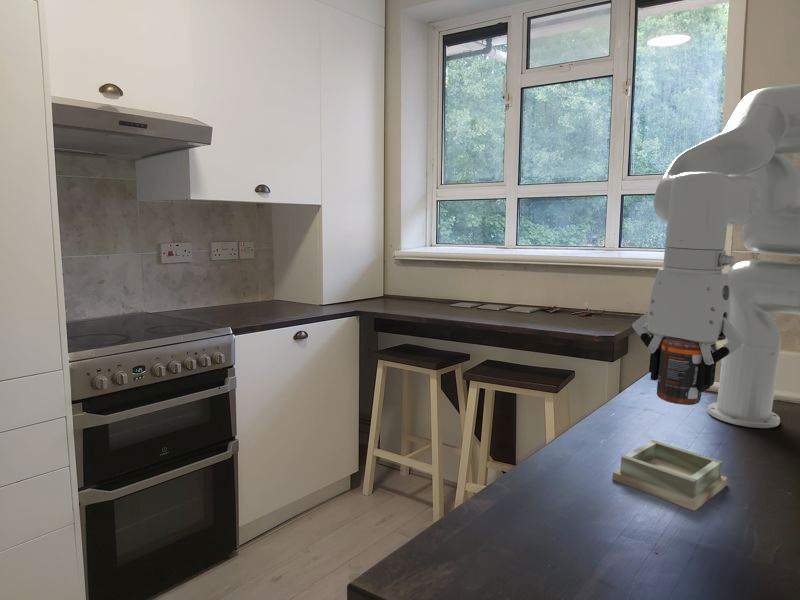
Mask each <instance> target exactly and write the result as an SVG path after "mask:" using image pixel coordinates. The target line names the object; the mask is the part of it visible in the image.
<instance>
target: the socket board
mask: <svg viewBox="0 0 800 600" xmlns="http://www.w3.org/2000/svg"><path fill="white" fill-rule="evenodd" d="M722 469H723V461H722V460H719V459H716V458H712V457H710V456H709V457H708V456H706V455H703V454H700V453H696V452H693V451H689V450H687V449H684V448H680V447H678V446H675V445H671V444H667V443H664V442H661V441H657V440H654V439H652V440H651V441H649V442H646V443H644V444H643V445H641V446H638V448H636V449H634V450H632V451H630V452H628V453H626V454H624V455H622V456H621V459H620V468H618V469H616V470H614V471H613V472H612V478H611V480H612V481H614V482H617V483H620V484H623V485H625V486H628V487H630V488H632V489H633V488H634V489H635V490H639V491H641V492H644V493H647V494H649V495H651V496H654V497H656V498H659V499H662V500H665V501H666V502H667V501H668V502H670V503H673V504H675V505H678V506H680V507H683V508H686V509H688V510H691V511H694V512H696V510H698V509H699V508H700V507H702V506H703V505H704V504H705V503H707V502H708V501H709V500H710V499H711V498H713V497H714V496H716V494H718V493H719V492H720V491H722V490H723V489H724V488H725V487H727V486H728V479H729V478H728V477H727V476H725V475H722Z"/></svg>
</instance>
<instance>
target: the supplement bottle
mask: <svg viewBox="0 0 800 600" xmlns="http://www.w3.org/2000/svg"><path fill="white" fill-rule="evenodd" d="M701 363H703V356H702V352H701V349H700V345H699V343H694V342H690V341H688V340H684V339H681V338H675V337H673V338H667V337H665V338H664V339H663V341H662V345H661V354H660V363H659V374H658V380H657V385H656V396H657V397H658V398H659V399H661V400H662V401H665V402H666V403H672V404H676V405H684V406H693V405H697V404H700V402H701V397H702V393H703V392H701V391H698V390H697V382H698V373H699V365H700V364H701Z"/></svg>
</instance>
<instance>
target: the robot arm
mask: <svg viewBox="0 0 800 600" xmlns="http://www.w3.org/2000/svg"><path fill="white" fill-rule="evenodd" d="M784 154H800V83H799V84H787V85H779V86H769V87H763V88H759V89H756V90H753V91H751V92H749V93H748V94H746V95H745V96H744V97H743V98H742V99H741V100H740V102H738V104H737V106H736V108H735V110H734V111H733V112H732V114H731V115H730V118H729V119H728V120H727V123H726V124H725V126H724V128H723V129H722V130H721V133H719V134H716V135H714V136H712V137H710V138H708V139H706V140H703V141H702V142H699V143H698V144H697V145H694V146H692V147H690V148H688V149H686V150H685V151H683V152H682V153H680V154H679V155H678V156H676V157H675V158H674V159H673V161H671V163H670V164H669V166H668V168H667V169H666V171H665V172H664V174H662V177H661V179H660V181H659V182H658V185H657V187H656V190H655V193H654V198H653V208H654V212H655V215H657V217H658V218H659V220H661V221H663V222H664V223H667V225H666V234H665V242H664V243H665V245H664V246H665V247H664V255H663V264H662V265H663V266H662V267H660V268H658V270H657V273H656V276H655V279H654V281H653V286H652V290H651V293H650V294H651V295H650V299H649V303H648V304H649V305H648V310H647V312H645V313H644V314H643V315H641V316H640V317H639V318H638V319H637V320H635V321H634V322H633V323H632V325H631V326H632V327H631V328H632V329H633V330H634V331H635V333H636V334H637V335H638V336H639V337H640V340H641V341H642V342H643V344H644V345H645V346H646V349H647V352H648V353H649V354H650V356H649V357H650V358H649V366H648V367H649V368H648V372H649V373H650V380H651V381H658V374H659V363H660V354H661V345H662V341H663V339H664V338H665V337H667V338H673V337H675V338H681V339H684V340H688V341H690V342H694V343H699V345H700V349H701V352H702V356H703V363H701V364H700V365H699V373H698V382H697V390H698V391H701V392H702V393H703V392H705V391H707V390H709V389H711V387H712V386H714V383H715V379H716V378H715V376H716V370H717V363H718V362H720V361H721V366H720V375H719V383H718V392H717V398H716V399H717V400H716V402H712V403H709V404H708V406H707V413H708V414H709V415H710V416H712V417H713V418H715V419H717V420H719V421H722V422H724V423H728V424H731V425H736V426H739V427H740V426H742V427H745V428H753V429H755V428H756V429H771V428H776V427H778V426H779V425H780V423H781V418H780V416H779V414H776V413H775V412H773V411H772V410H773V405H774V404H773V403H774V398H775V389H776V382H777V375H778V368H779V367H778V366H779V359H780V352H781V351H780V350H781V344H782V334H781V330H780V328H779V325H778V324H777V323H776V322H777V321H775V320H774V318H773V317H772V315H771V314H770V313H771V312H772V313H780V314H781V313H783V314H784V313H785V314H791V315H798V316H799V315H800V263H798V262H785V261H777V260H776V261H774V260H760V259H759V260H757V259H755V260H754V259H749V260H747V259H746V260H741V261H739V262H736V263H735V256H734V255H729V254H727V253H726V252H727V251H726V250H725V247H726V239H727V237H726V236H727V231H728V230H727V229H728V227H737V226H738V227H740V226H742V230H741V231H742V232H741V240H742V245H743V246H744V248H745V249H747V250H748V251H749V252H753V253H758V254H765V255H767V254H768V255H782V256H795V257H800V172H799V171H798V169H797V168H796V166H794V164H793V163H792V162H791V161H790V159H789V158H787V157H786V156H785V155H784ZM727 266H731V267H730V268H729V269H728V270H727V272H722V271H723V270H724V268H725V267H727ZM721 341H723V346H721V347H719V348H718V344H717V342H721Z"/></svg>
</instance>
